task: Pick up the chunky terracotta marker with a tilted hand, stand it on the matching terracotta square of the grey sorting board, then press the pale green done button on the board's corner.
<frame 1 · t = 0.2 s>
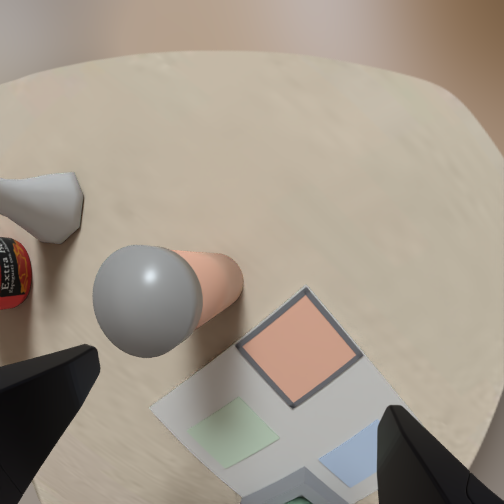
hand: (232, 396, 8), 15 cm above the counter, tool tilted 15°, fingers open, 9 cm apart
flask: (59, 208, 26), on the counter
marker: (215, 281, 24), on the counter
grey sorting board: (300, 438, 23), on the counter
canned food: (13, 272, 27), on the counter
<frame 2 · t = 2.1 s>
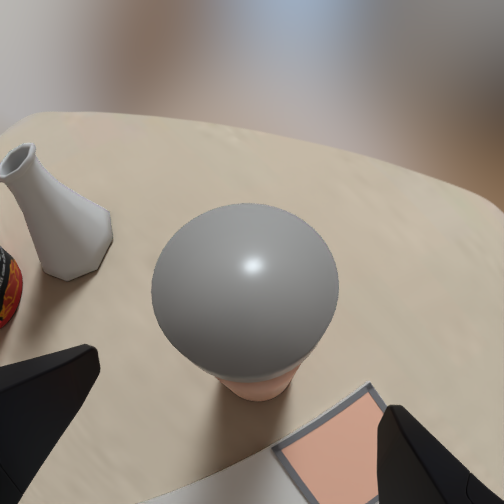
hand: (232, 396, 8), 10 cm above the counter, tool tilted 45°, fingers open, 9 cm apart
flask: (78, 244, 23), on the counter
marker: (257, 367, 18), on the counter
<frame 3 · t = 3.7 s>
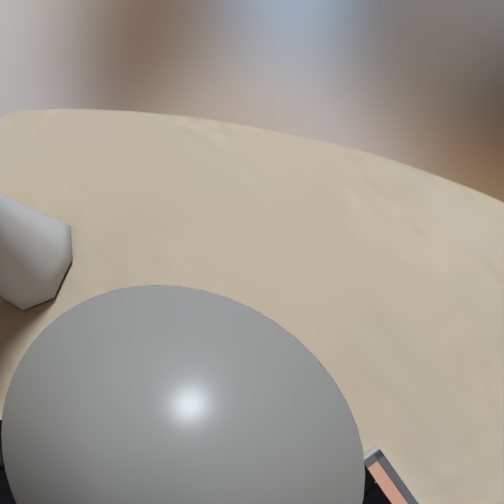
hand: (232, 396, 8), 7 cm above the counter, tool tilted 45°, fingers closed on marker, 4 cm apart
flask: (37, 265, 19), on the counter
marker: (240, 430, 13), on the counter, touching gripper
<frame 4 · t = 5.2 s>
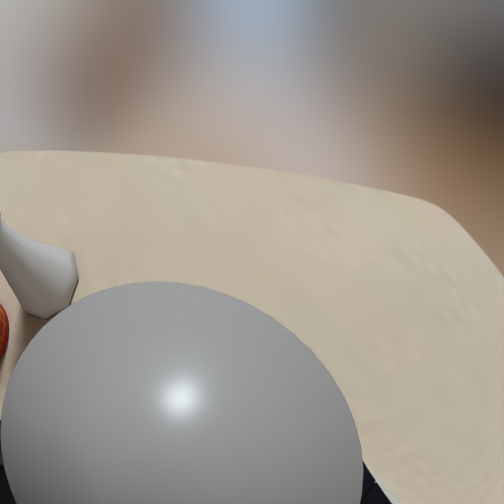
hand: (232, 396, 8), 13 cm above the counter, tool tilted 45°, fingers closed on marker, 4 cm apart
flask: (51, 284, 25), on the counter
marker: (240, 429, 13), point 7 cm above the counter, touching gripper
when the fingers open (9 cm above the counter, at t = 6.9 s): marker drops 1 cm, resting on grey sorting board.
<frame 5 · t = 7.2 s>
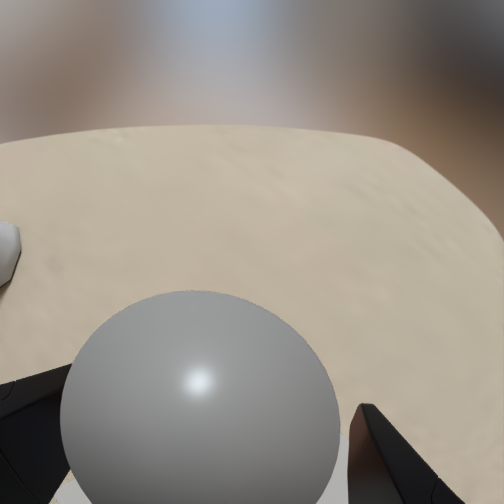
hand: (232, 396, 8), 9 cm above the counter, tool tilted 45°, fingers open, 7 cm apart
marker: (242, 429, 14), point 1 cm above the counter, touching grey sorting board
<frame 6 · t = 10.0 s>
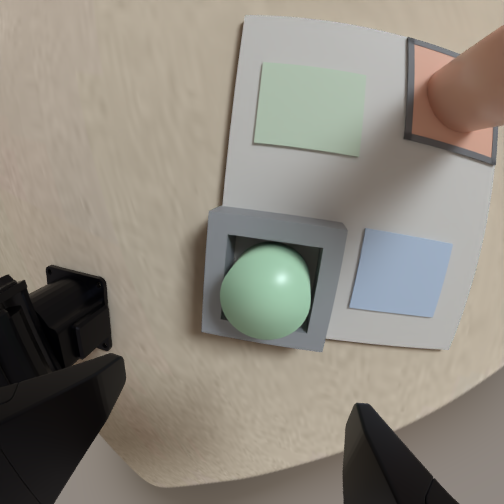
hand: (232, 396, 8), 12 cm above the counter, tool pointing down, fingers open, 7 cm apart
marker: (456, 99, 14), point 1 cm above the counter, touching grey sorting board
done button: (268, 289, 16), point 3 cm above the counter, slide at 0.0 cm
grey sorting board: (369, 185, 17), on the counter
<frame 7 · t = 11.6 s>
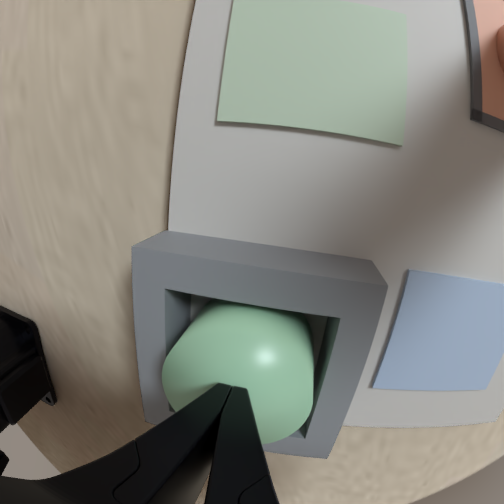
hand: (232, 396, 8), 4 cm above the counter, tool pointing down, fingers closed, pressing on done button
done button: (244, 367, 10), point 3 cm above the counter, slide at -0.9 cm, touching gripper
grey sorting board: (416, 195, 10), on the counter
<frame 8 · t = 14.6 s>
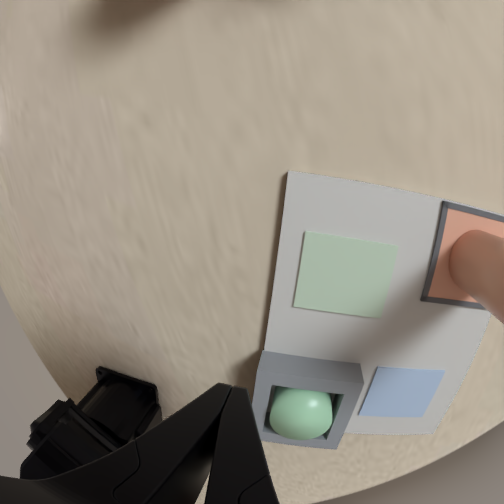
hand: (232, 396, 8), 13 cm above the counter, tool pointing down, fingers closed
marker: (473, 260, 17), point 1 cm above the counter, touching grey sorting board
done button: (301, 407, 21), point 2 cm above the counter, slide at -1.3 cm, touching grey sorting board
grey sorting board: (385, 333, 21), on the counter
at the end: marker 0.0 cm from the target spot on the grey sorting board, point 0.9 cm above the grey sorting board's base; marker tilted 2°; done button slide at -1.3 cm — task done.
